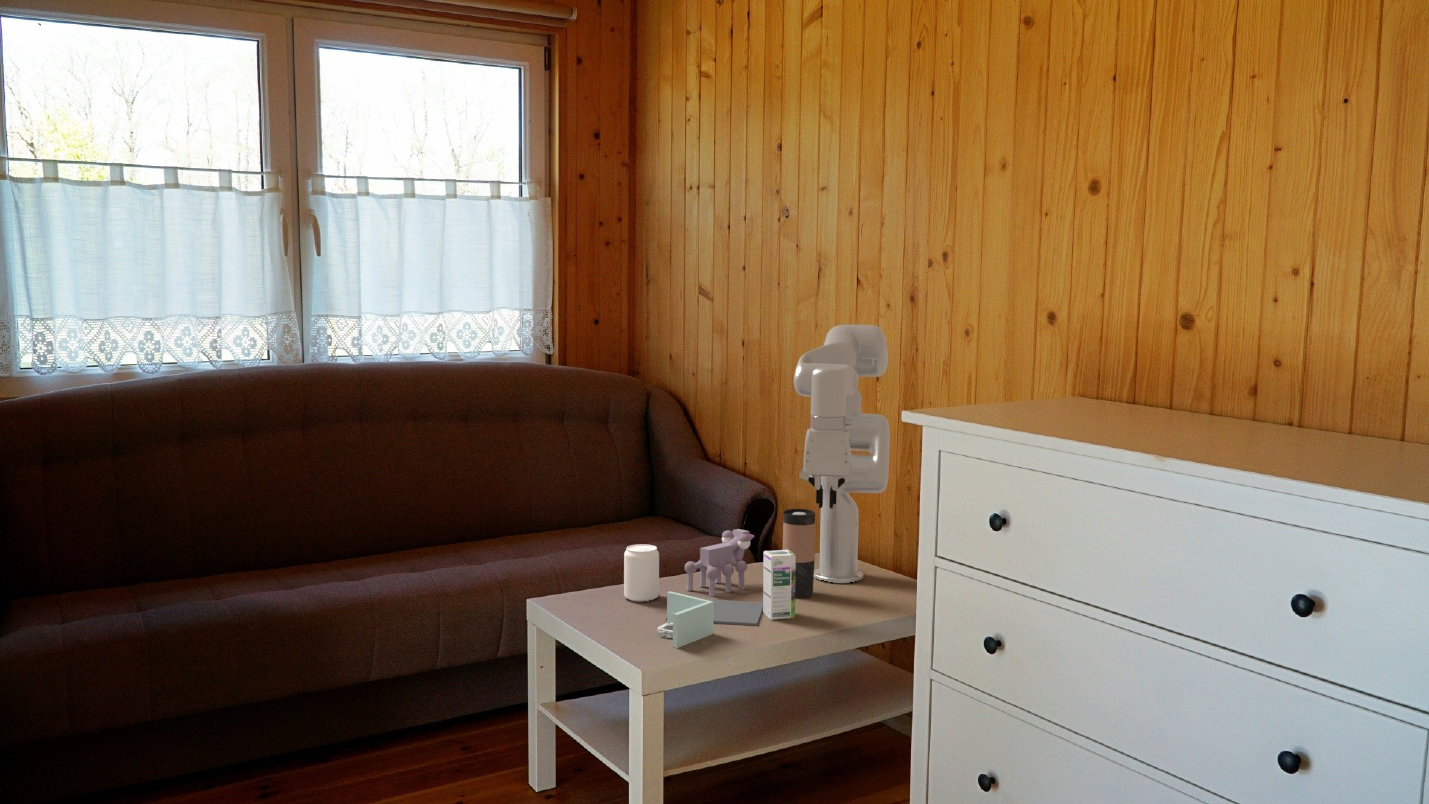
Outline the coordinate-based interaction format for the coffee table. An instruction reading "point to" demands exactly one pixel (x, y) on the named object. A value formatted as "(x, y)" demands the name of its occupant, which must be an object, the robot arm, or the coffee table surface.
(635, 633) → the coffee table surface
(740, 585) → the lavender lumpy figurine
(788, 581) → the syrup box
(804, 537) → the travel mug
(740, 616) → the mat
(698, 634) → the right angle wall
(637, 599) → the beverage can
